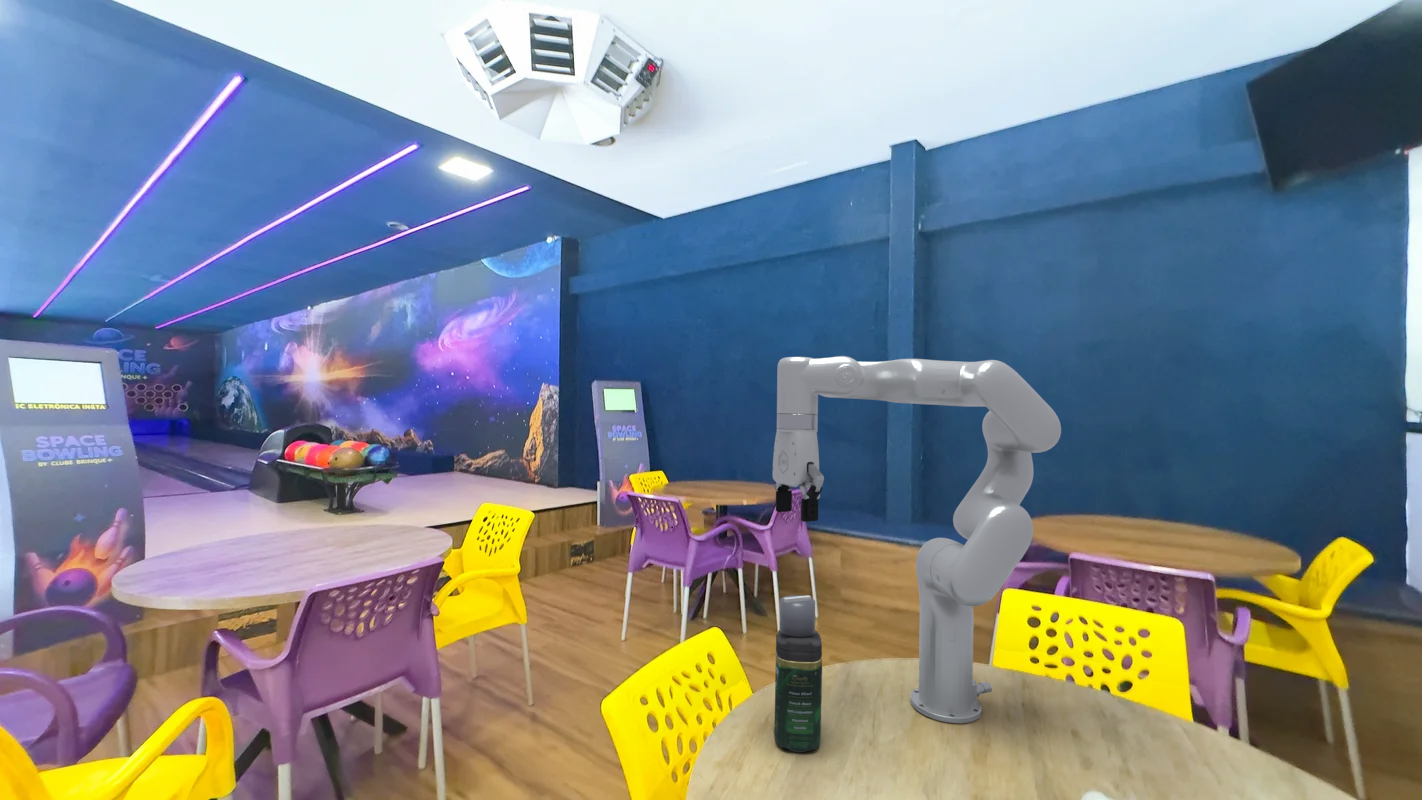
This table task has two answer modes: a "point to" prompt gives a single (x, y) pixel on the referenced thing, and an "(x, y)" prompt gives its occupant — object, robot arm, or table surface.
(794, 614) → the lid
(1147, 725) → the table surface
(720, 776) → the table surface
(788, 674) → the coffee jar
